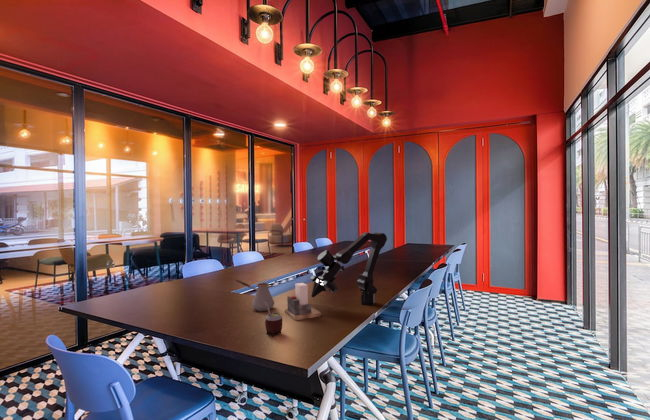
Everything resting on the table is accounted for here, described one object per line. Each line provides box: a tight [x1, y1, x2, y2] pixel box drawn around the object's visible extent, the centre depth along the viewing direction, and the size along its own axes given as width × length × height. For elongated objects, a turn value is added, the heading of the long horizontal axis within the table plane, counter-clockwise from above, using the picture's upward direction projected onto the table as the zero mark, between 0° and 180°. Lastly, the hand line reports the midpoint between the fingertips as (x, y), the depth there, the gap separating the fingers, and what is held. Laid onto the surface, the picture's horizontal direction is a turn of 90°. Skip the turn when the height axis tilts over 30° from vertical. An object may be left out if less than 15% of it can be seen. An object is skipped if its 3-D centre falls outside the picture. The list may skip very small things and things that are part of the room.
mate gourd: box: [263, 301, 283, 337], centre depth 142 cm, size 8×8×15 cm
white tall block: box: [294, 282, 309, 306], centre depth 168 cm, size 4×6×13 cm, turn 27°
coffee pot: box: [234, 279, 275, 312], centre depth 179 cm, size 21×12×15 cm, turn 80°
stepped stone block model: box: [284, 295, 322, 321], centre depth 168 cm, size 14×14×10 cm
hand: (312, 297), depth 170 cm, fingers closed
